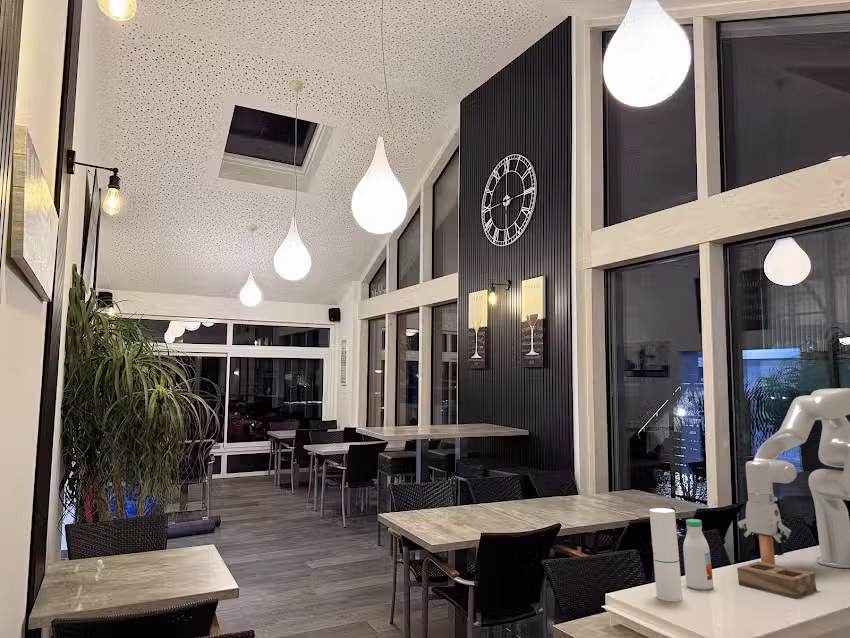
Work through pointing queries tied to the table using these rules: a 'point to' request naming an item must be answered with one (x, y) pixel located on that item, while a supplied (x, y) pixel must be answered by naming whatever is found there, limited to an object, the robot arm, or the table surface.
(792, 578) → the socket block
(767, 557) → the pin
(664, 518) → the cylindrical container
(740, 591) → the table surface
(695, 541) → the milk bottle
